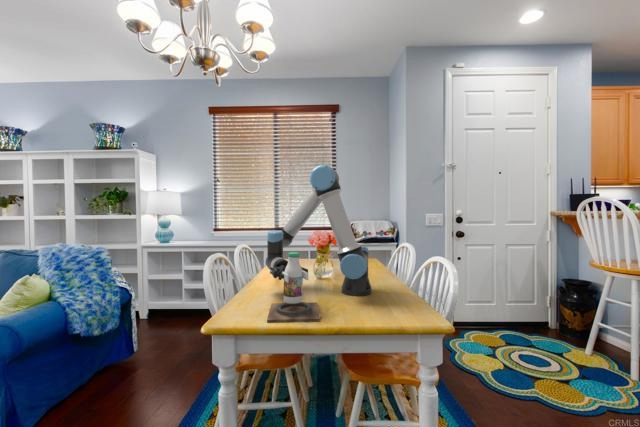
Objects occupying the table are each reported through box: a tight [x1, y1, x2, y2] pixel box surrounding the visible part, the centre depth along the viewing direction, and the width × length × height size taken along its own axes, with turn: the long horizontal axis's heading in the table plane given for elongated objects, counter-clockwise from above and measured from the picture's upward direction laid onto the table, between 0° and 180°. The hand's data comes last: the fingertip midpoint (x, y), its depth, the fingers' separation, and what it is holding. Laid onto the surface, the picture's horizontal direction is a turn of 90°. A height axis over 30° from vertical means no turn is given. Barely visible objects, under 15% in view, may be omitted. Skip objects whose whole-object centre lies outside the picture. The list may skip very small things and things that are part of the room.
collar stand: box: [266, 301, 321, 323], centre depth 129 cm, size 20×20×2 cm
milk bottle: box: [283, 251, 304, 304], centre depth 129 cm, size 8×8×20 cm
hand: (297, 277), depth 124 cm, fingers closed on milk bottle, 8 cm apart
